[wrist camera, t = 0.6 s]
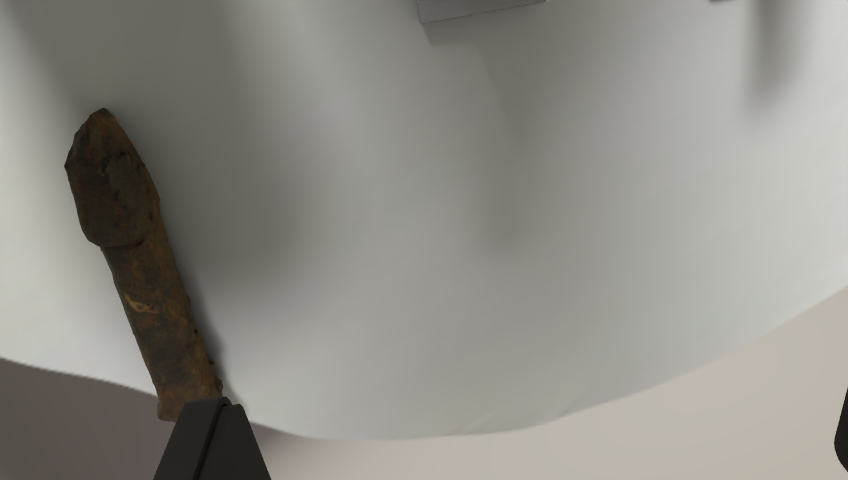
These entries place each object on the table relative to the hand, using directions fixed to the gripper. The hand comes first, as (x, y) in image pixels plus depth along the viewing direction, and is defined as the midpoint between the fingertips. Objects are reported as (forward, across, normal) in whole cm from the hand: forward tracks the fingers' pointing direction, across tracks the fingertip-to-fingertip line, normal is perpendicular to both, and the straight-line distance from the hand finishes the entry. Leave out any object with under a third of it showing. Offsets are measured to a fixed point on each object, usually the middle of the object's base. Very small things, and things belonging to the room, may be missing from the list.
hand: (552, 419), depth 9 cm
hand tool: (+26, +18, +9) cm, 33 cm away
